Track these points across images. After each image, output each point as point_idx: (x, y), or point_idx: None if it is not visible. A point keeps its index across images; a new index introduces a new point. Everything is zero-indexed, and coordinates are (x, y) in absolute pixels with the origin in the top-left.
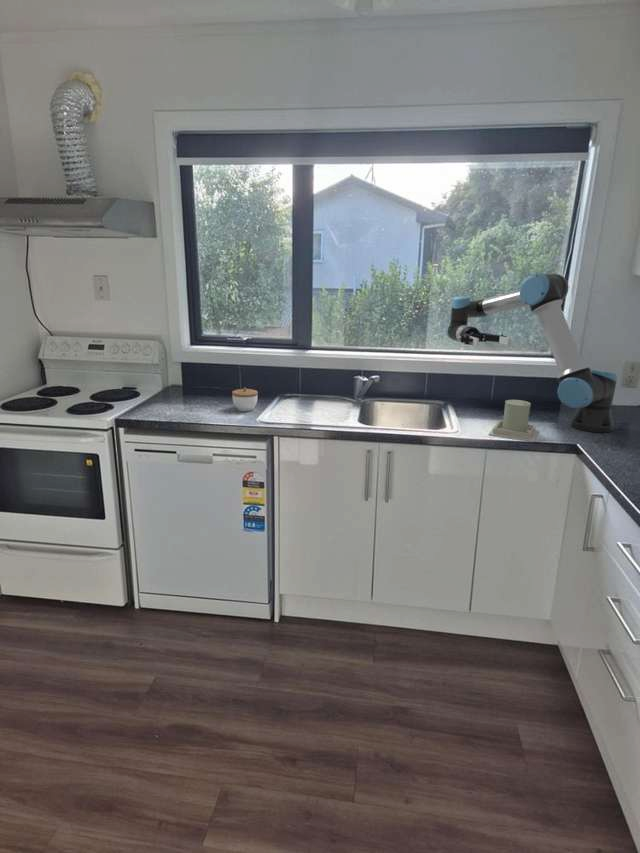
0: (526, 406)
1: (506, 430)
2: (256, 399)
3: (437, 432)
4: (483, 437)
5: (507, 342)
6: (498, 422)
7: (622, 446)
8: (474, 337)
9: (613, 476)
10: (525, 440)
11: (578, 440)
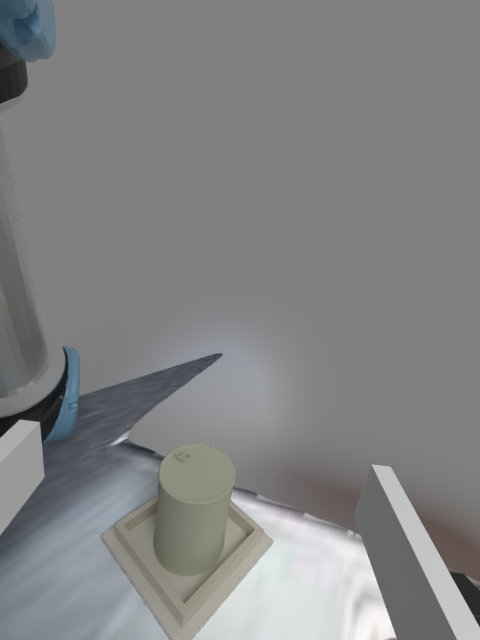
0: (196, 446)
1: (236, 506)
2: None
3: None
4: (294, 531)
5: (39, 461)
6: (209, 584)
7: None
8: (421, 546)
9: (196, 370)
10: None
11: (86, 457)
